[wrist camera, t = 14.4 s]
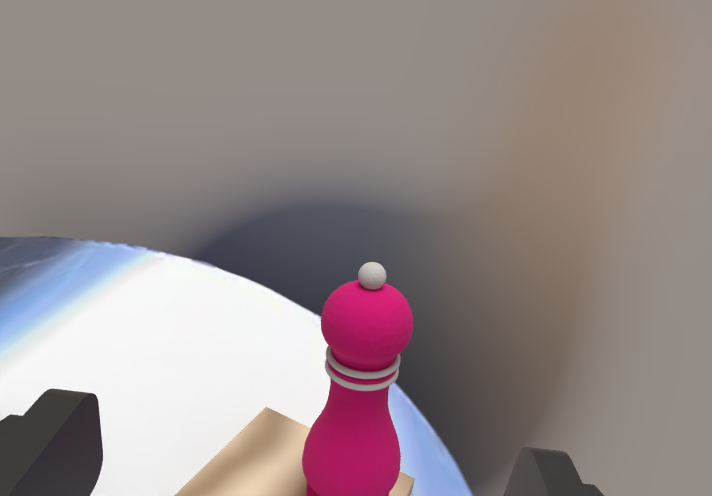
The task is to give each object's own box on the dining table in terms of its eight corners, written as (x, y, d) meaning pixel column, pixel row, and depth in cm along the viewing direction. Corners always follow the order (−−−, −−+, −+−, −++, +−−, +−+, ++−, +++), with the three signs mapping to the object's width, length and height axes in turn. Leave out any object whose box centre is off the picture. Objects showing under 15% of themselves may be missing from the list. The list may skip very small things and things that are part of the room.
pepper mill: (327, 454, 42) (348, 235, 35) (406, 490, 40) (445, 259, 33) (280, 517, 36) (293, 266, 29) (369, 564, 33) (407, 300, 26)
